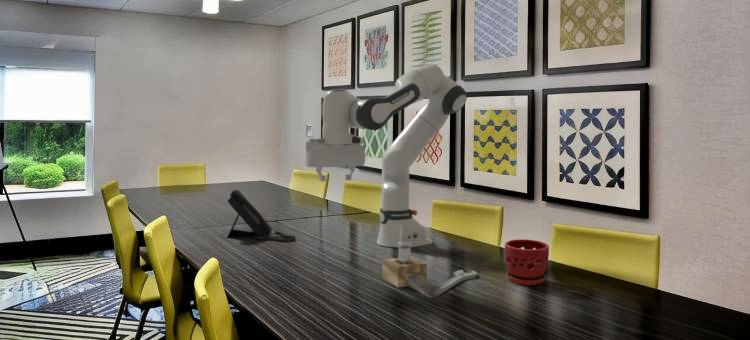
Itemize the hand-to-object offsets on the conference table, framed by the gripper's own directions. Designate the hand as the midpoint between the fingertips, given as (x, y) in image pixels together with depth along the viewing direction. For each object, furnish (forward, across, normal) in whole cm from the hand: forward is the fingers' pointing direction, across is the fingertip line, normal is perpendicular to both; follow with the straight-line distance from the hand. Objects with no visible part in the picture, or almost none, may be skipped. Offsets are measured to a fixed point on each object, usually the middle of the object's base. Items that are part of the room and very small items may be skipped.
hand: (335, 180), depth 178 cm
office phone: (+30, -9, +59) cm, 67 cm away
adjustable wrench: (+30, +25, -32) cm, 50 cm away
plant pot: (+29, +47, -40) cm, 68 cm away
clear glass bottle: (+27, +13, -24) cm, 38 cm away
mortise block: (+29, +13, -30) cm, 44 cm away
